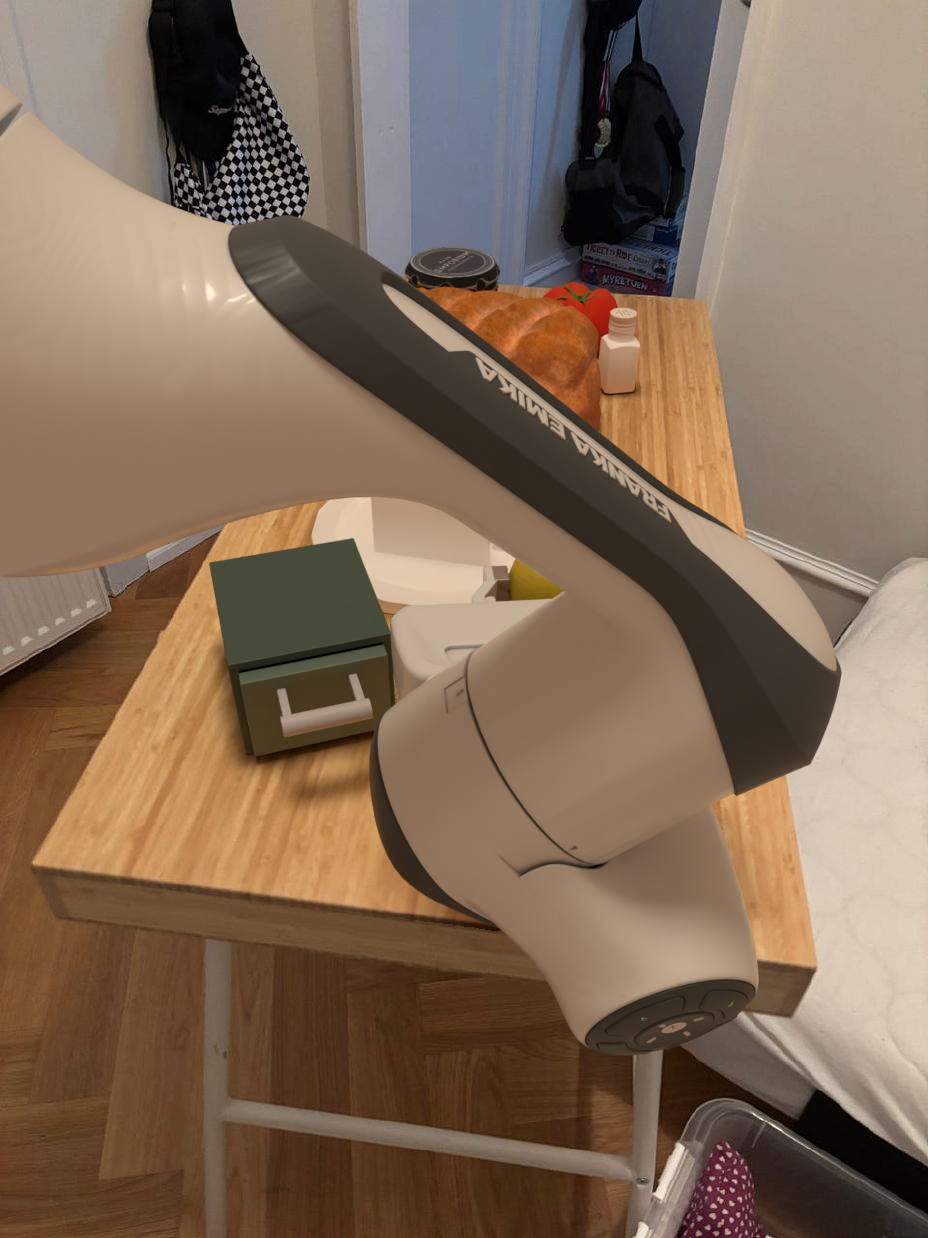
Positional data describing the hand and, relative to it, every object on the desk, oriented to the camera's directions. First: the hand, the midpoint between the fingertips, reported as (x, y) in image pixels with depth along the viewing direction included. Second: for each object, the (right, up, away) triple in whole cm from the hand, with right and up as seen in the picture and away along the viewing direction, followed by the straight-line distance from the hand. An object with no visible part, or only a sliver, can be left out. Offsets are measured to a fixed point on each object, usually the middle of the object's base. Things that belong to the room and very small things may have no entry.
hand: (547, 571), depth 59 cm
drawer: (-17, -10, +13) cm, 23 cm away
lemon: (0, -5, +3) cm, 5 cm away
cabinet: (-18, -8, +16) cm, 25 cm away
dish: (-7, +5, +32) cm, 33 cm away
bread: (-3, +19, +49) cm, 53 cm away
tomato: (+10, +34, +67) cm, 76 cm away
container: (-7, +36, +70) cm, 79 cm away
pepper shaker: (+13, +26, +57) cm, 64 cm away
